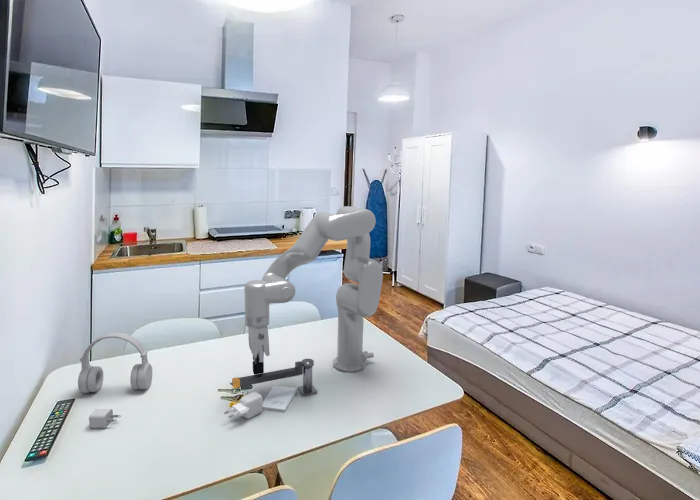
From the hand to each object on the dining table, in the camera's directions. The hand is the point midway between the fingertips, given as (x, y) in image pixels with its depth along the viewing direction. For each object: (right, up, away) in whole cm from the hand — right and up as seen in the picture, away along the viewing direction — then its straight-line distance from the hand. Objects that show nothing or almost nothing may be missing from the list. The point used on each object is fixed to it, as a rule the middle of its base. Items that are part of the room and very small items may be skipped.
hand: (258, 372), depth 132 cm
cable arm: (+6, -1, -3) cm, 7 cm away
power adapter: (-2, -10, -12) cm, 16 cm away
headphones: (-47, -6, +1) cm, 47 cm away
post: (+16, -7, +3) cm, 18 cm away
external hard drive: (+7, -9, -2) cm, 11 cm away
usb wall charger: (-39, -10, -17) cm, 44 cm away
